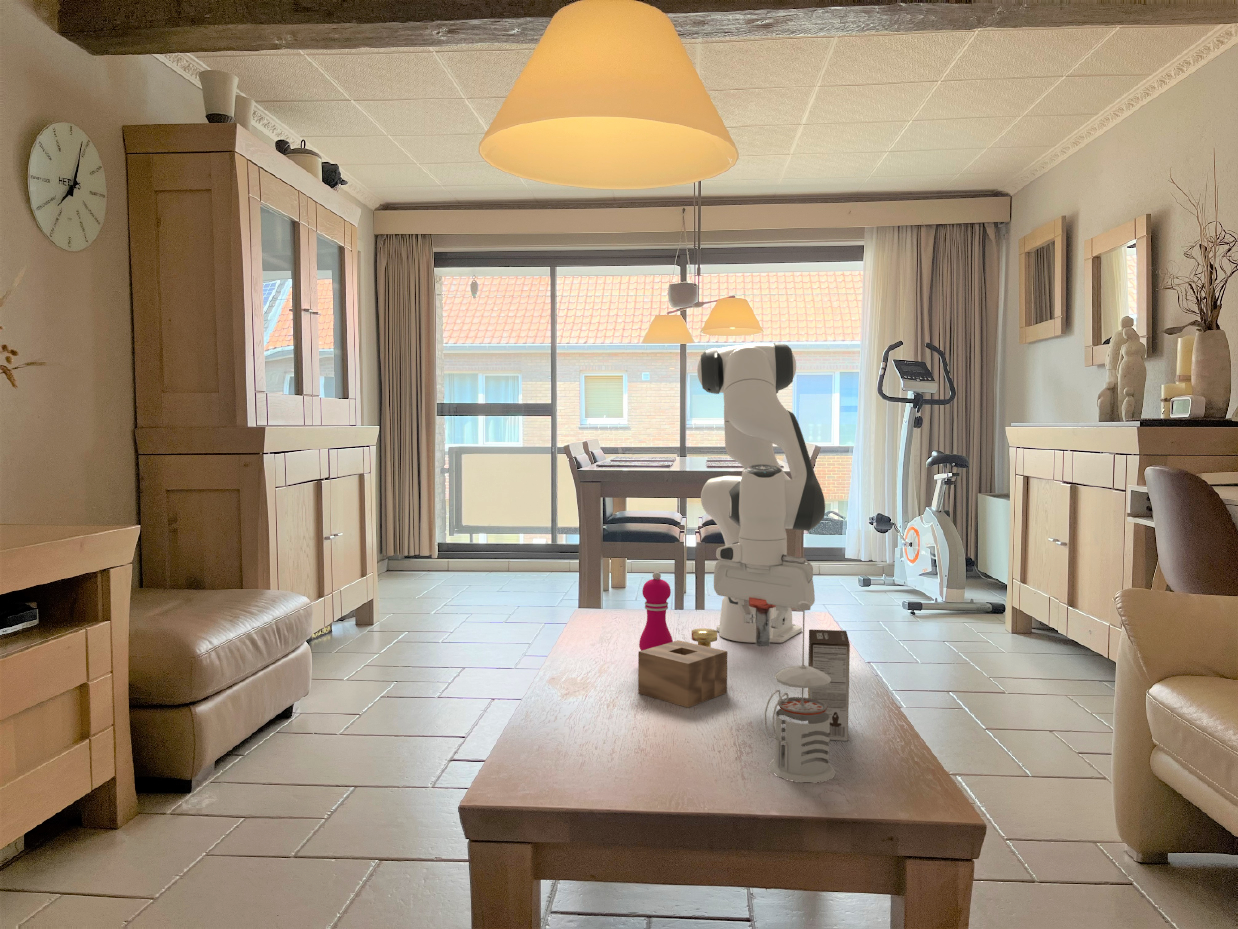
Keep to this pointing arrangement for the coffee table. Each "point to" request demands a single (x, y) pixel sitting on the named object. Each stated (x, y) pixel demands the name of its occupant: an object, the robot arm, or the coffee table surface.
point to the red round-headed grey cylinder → (762, 620)
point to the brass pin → (704, 636)
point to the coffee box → (832, 677)
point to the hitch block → (682, 673)
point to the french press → (801, 726)
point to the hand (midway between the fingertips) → (762, 625)
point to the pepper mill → (655, 613)
